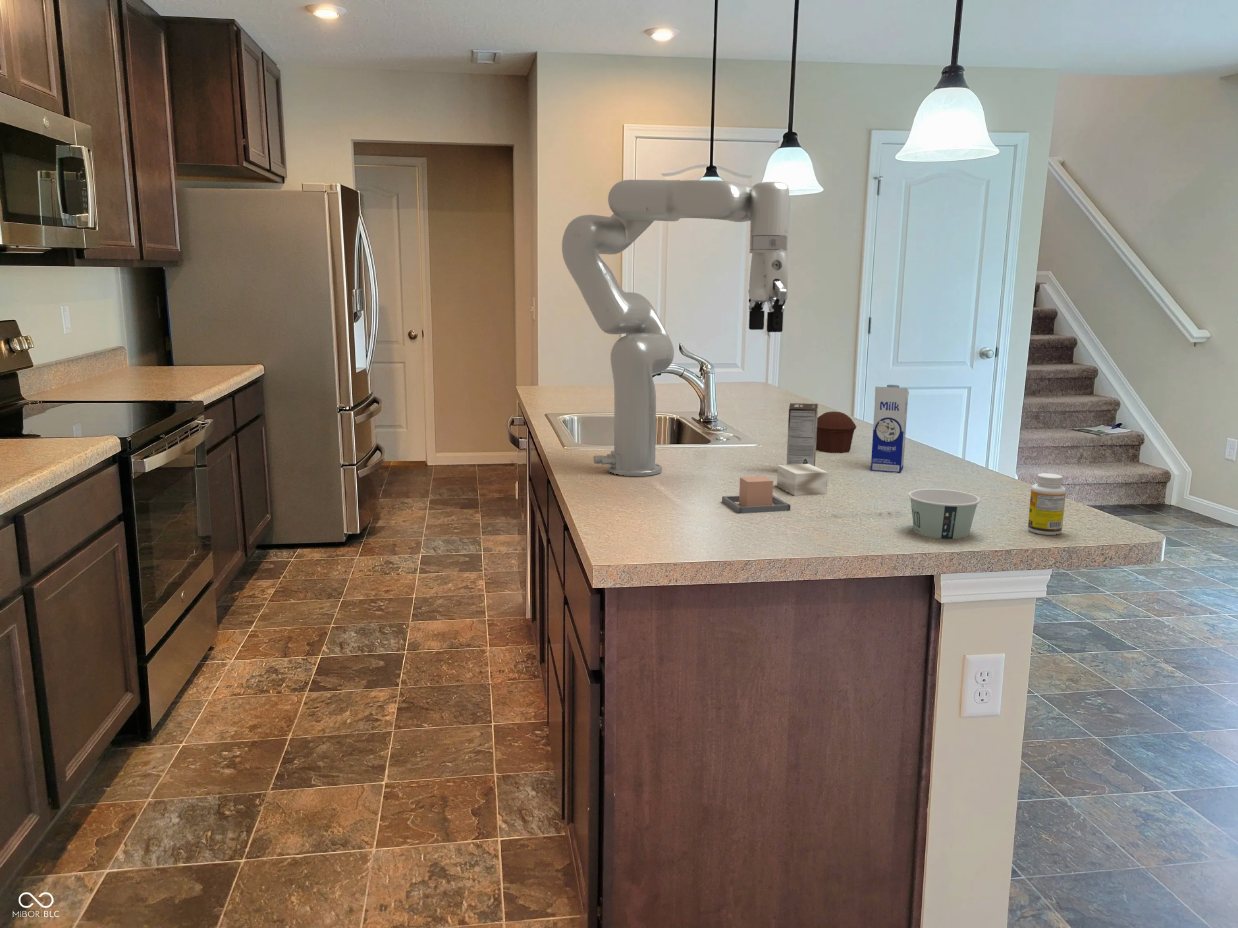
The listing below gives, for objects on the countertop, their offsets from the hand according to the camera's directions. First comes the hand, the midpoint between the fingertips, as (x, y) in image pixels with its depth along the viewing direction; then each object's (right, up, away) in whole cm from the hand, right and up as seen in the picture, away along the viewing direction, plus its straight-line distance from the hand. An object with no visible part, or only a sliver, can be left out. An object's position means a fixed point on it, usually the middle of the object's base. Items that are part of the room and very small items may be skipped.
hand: (765, 330), depth 188 cm
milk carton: (+33, -29, +26) cm, 51 cm away
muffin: (+26, -24, +51) cm, 62 cm away
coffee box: (+11, -30, +19) cm, 38 cm away
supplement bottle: (+45, -40, -27) cm, 66 cm away
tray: (-4, -37, -15) cm, 40 cm away
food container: (+27, -40, -27) cm, 55 cm away
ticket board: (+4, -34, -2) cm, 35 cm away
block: (-4, -36, -15) cm, 39 cm away
